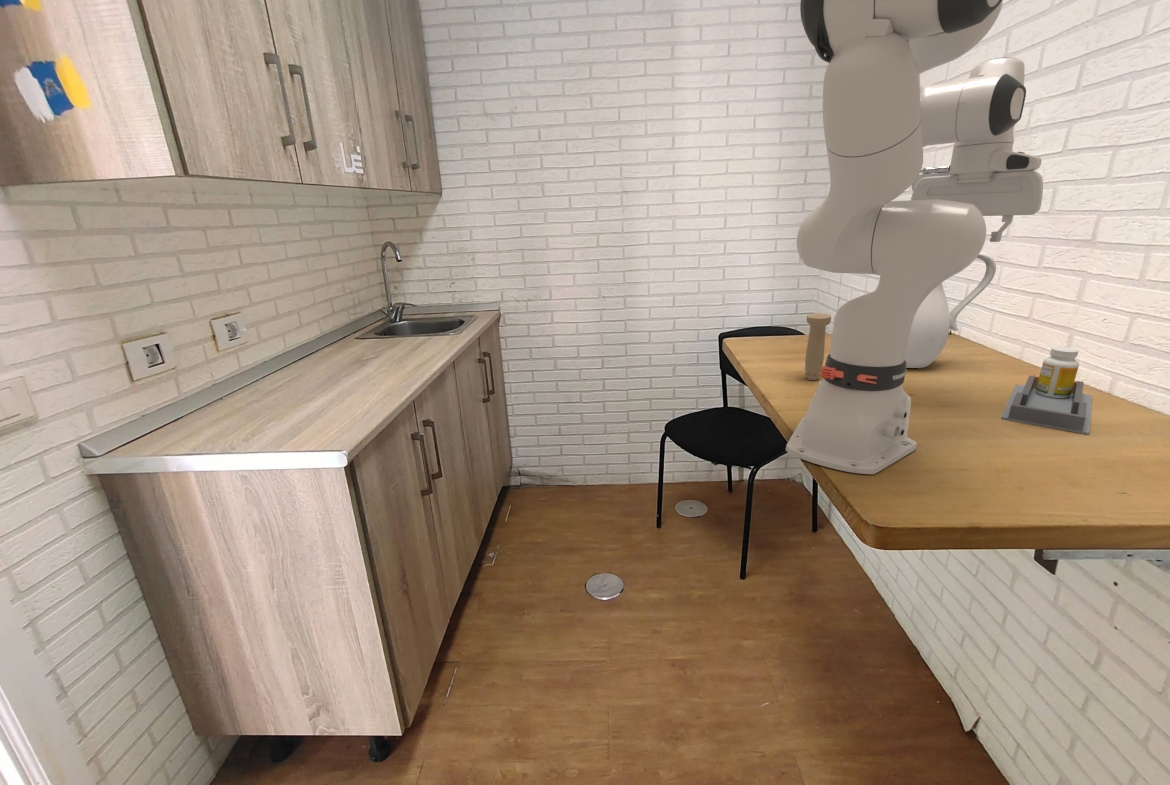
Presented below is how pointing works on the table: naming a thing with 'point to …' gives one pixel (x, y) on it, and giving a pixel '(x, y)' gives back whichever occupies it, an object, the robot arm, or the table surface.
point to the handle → (816, 345)
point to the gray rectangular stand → (1050, 408)
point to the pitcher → (939, 320)
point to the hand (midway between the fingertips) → (964, 241)
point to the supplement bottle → (1058, 373)
